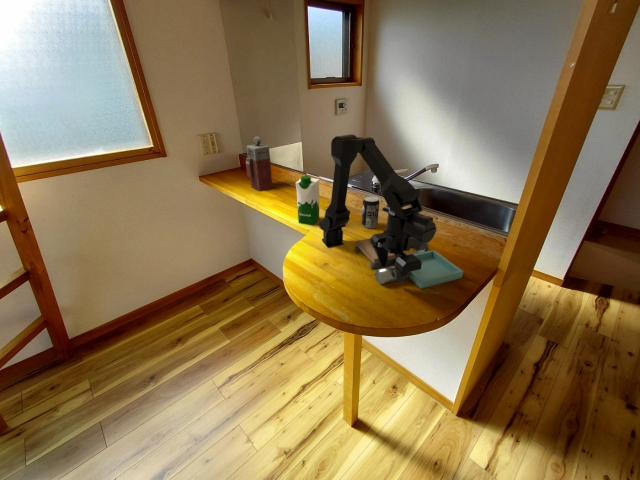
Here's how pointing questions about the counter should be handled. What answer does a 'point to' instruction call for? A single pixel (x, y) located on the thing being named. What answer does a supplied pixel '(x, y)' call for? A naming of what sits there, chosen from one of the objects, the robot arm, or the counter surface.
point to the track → (392, 261)
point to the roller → (386, 274)
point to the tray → (434, 270)
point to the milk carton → (308, 200)
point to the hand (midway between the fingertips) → (391, 274)
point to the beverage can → (370, 212)
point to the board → (371, 250)
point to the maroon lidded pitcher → (259, 165)
